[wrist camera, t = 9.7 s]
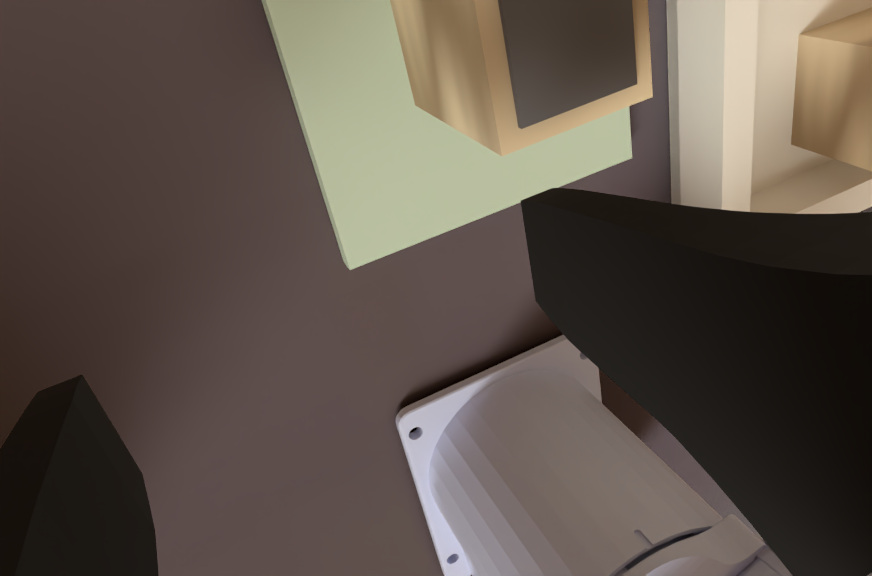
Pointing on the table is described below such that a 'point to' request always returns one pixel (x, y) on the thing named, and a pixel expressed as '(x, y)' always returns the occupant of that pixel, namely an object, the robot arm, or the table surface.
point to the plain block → (835, 90)
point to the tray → (749, 109)
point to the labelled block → (524, 64)
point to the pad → (406, 135)
